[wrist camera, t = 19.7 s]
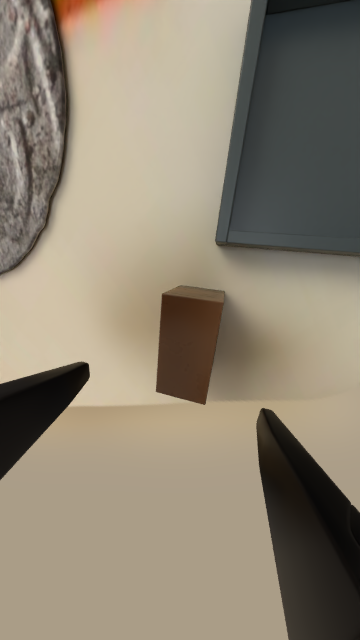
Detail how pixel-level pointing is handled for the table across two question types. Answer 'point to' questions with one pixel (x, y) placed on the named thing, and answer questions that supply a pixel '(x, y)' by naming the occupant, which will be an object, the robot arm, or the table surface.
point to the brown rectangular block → (188, 341)
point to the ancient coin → (28, 123)
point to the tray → (296, 131)
